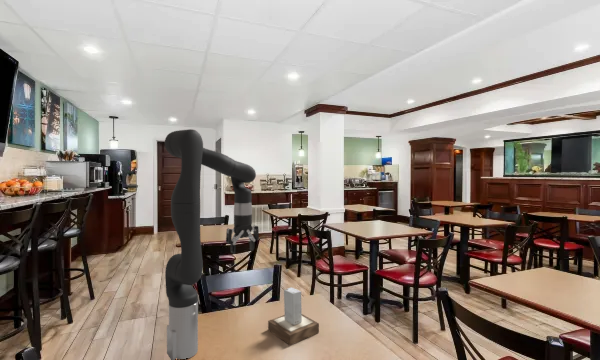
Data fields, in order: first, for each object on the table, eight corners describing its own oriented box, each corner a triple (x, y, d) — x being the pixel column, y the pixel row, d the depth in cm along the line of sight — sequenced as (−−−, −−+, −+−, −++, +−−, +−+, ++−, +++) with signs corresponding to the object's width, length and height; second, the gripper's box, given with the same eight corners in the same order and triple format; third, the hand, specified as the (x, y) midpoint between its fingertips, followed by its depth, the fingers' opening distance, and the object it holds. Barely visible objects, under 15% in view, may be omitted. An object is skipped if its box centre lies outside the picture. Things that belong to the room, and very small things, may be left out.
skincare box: (302, 322, 118) (302, 291, 118) (293, 326, 115) (293, 293, 115) (292, 316, 123) (292, 286, 123) (283, 320, 120) (283, 289, 120)
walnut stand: (289, 345, 110) (290, 334, 109) (268, 329, 120) (268, 319, 120) (318, 332, 118) (318, 322, 118) (296, 319, 129) (296, 309, 129)
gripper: (231, 215, 122) (231, 256, 122) (262, 213, 131) (262, 251, 131) (223, 213, 128) (223, 252, 128) (253, 211, 137) (252, 247, 137)
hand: (242, 251), depth 130 cm, fingers open, 8 cm apart
